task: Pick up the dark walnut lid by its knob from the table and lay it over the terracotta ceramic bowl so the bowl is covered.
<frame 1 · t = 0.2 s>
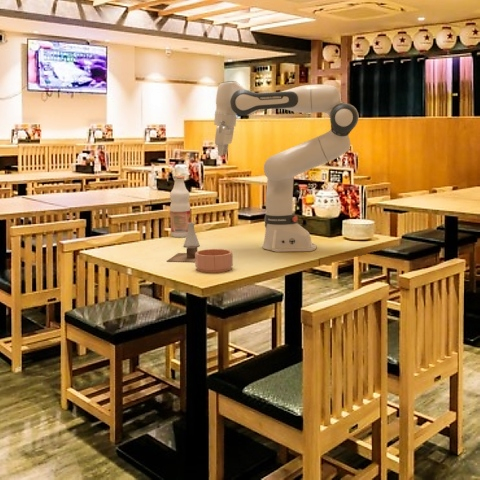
hand: (222, 155, 271), 39 cm above the table, tool pointing down, fingers open, 8 cm apart
flask: (191, 246, 281), on the table
lid: (192, 259, 256), on the table
bowl: (214, 268, 236), on the table
fruit juice: (181, 236, 308), on the table
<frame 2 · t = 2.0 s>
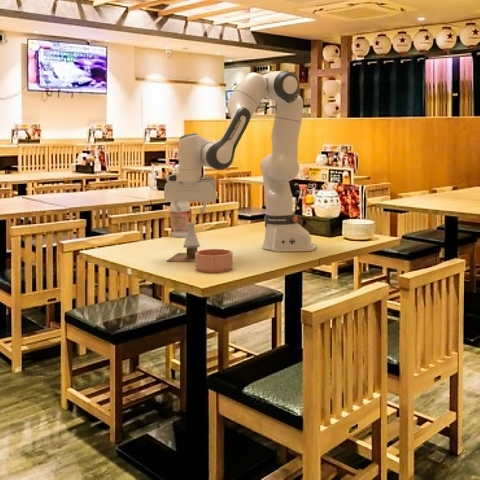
hand: (190, 212, 252), 18 cm above the table, tool pointing down, fingers open, 8 cm apart
nothing on the table moved.
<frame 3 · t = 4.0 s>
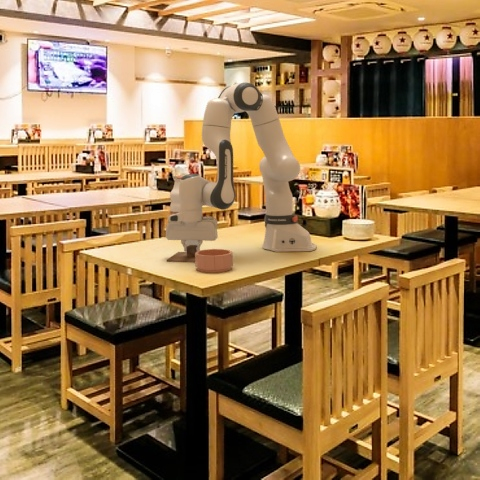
hand: (192, 251, 255), 3 cm above the table, tool pointing down, fingers closed on lid, 3 cm apart
lid: (192, 258, 256), on the table, touching gripper
everything else where it was.
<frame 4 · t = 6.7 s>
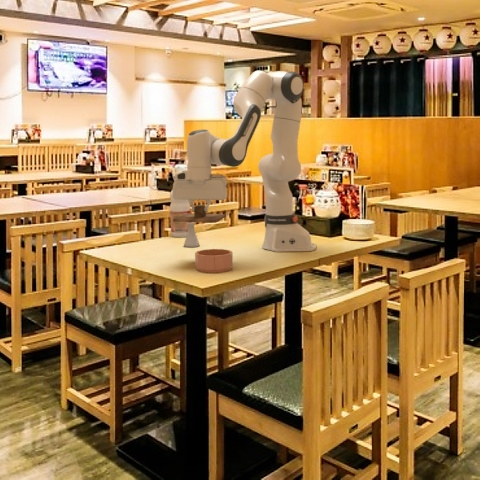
hand: (200, 211, 243), 19 cm above the table, tool pointing down, fingers closed on lid, 3 cm apart
lid: (200, 219, 243), point 17 cm above the table, touching gripper
everything else where it was.
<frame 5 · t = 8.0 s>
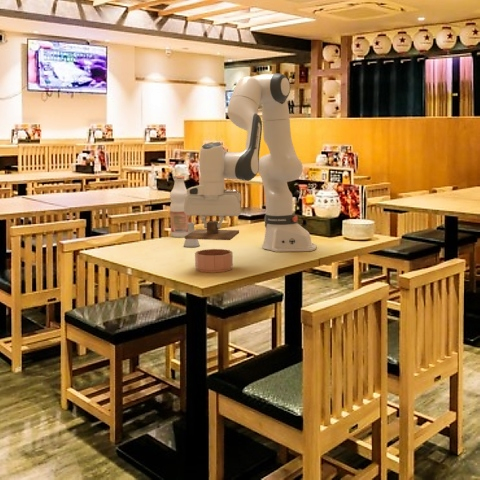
hand: (212, 228, 233), 15 cm above the table, tool pointing down, fingers closed on lid, 3 cm apart
lid: (212, 235, 233), point 12 cm above the table, touching gripper
everything else where it was.
when the fingers open (10 cm above the table, at t = 9.1 s): lid drops 1 cm, resting on bowl.
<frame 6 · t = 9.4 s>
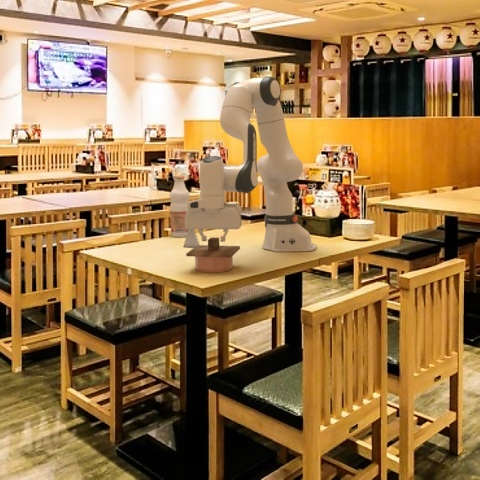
hand: (213, 241, 234), 10 cm above the table, tool pointing down, fingers open, 5 cm apart
lid: (213, 252, 235), point 6 cm above the table, touching bowl
everything else where it was.
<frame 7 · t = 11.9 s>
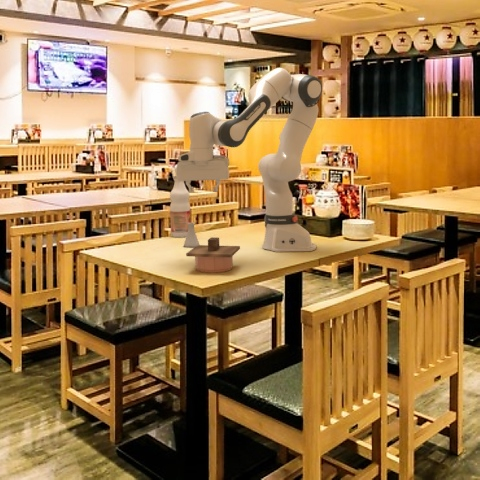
hand: (203, 192, 250), 26 cm above the table, tool pointing down, fingers open, 8 cm apart
nothing on the table moved.
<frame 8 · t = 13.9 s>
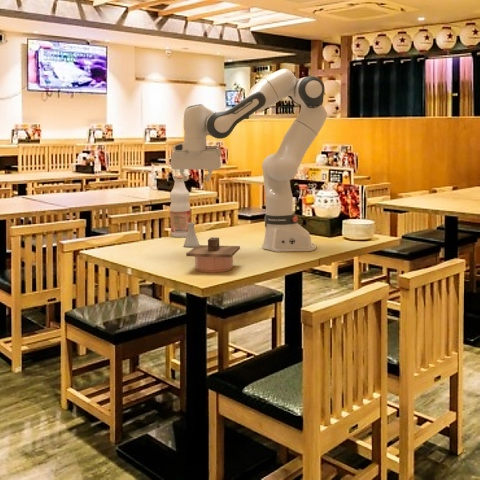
hand: (196, 180, 263), 29 cm above the table, tool pointing down, fingers open, 8 cm apart
nothing on the table moved.
at the end: lid 0.1 cm off-centre on the bowl, point 6.0 cm above the bowl's base; lid tilted 0°; the gripper is holding nothing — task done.
